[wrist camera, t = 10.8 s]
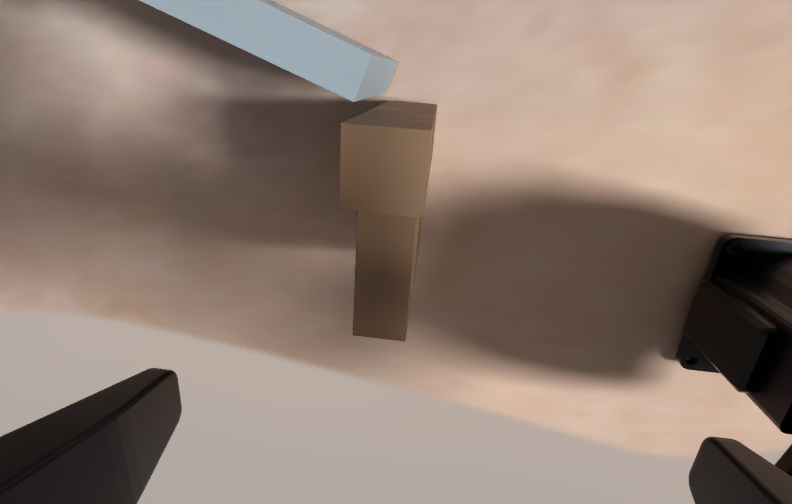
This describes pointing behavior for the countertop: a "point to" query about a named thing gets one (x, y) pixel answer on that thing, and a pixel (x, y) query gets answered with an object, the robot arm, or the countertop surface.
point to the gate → (289, 43)
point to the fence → (386, 208)
